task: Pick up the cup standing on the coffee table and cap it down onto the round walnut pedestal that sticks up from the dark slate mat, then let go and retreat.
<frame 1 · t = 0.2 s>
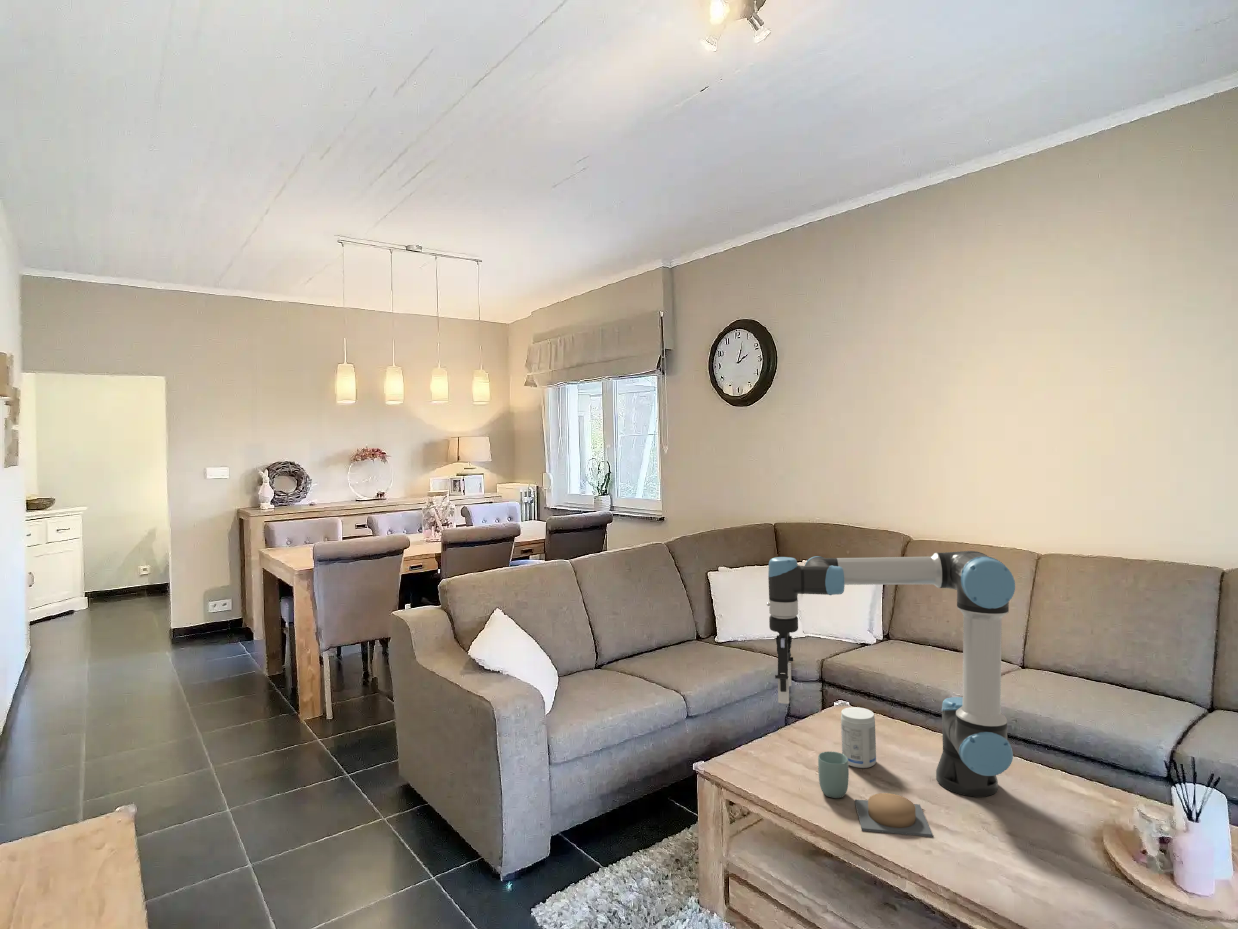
hand: (785, 694, 186), 27 cm above the table, fingers open, 13 cm apart
stand: (891, 818, 173), on the table
cup: (833, 795, 185), on the table
supplement tub: (858, 762, 204), on the table
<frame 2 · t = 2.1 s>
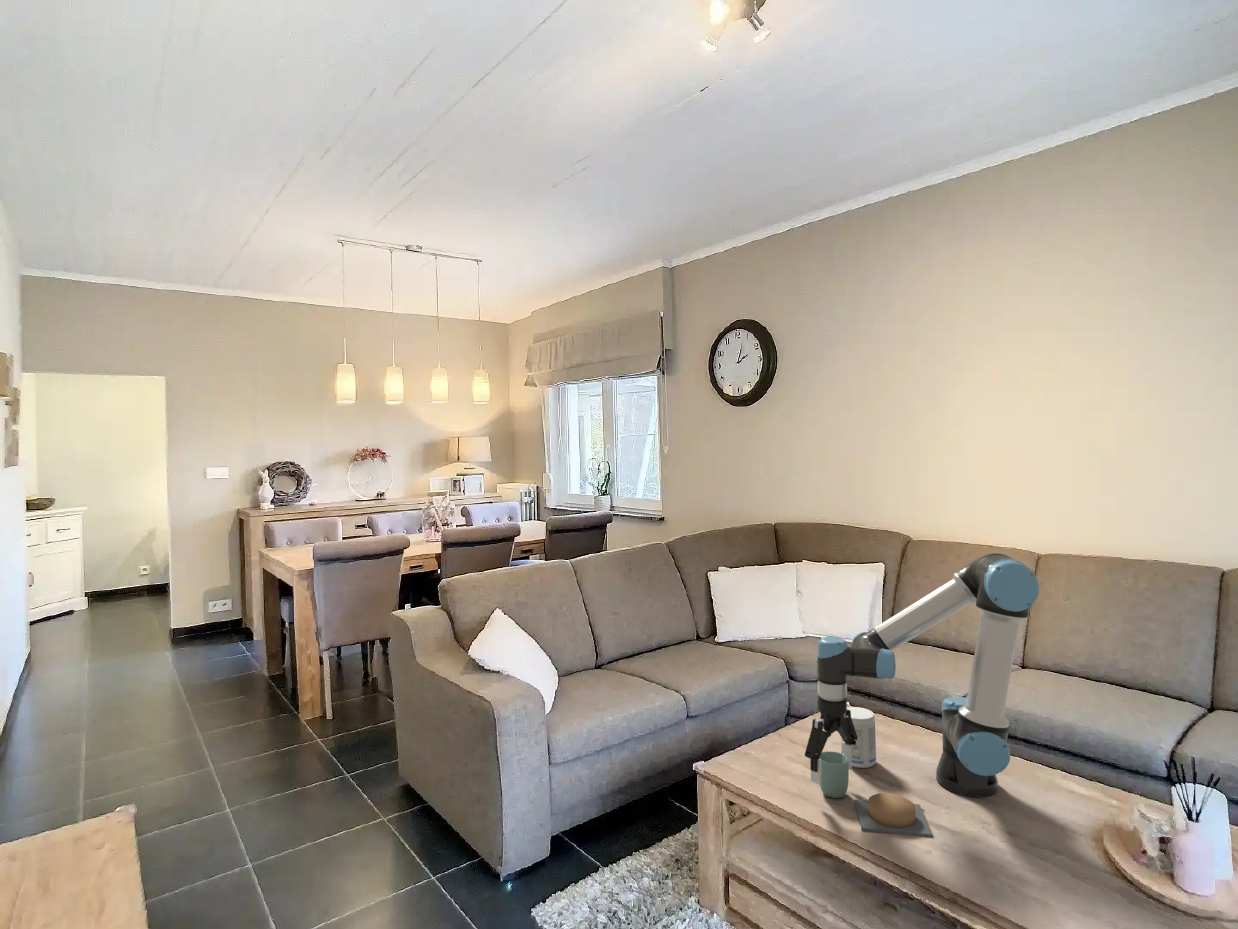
hand: (831, 775, 185), 5 cm above the table, fingers open, 13 cm apart
nothing on the table moved.
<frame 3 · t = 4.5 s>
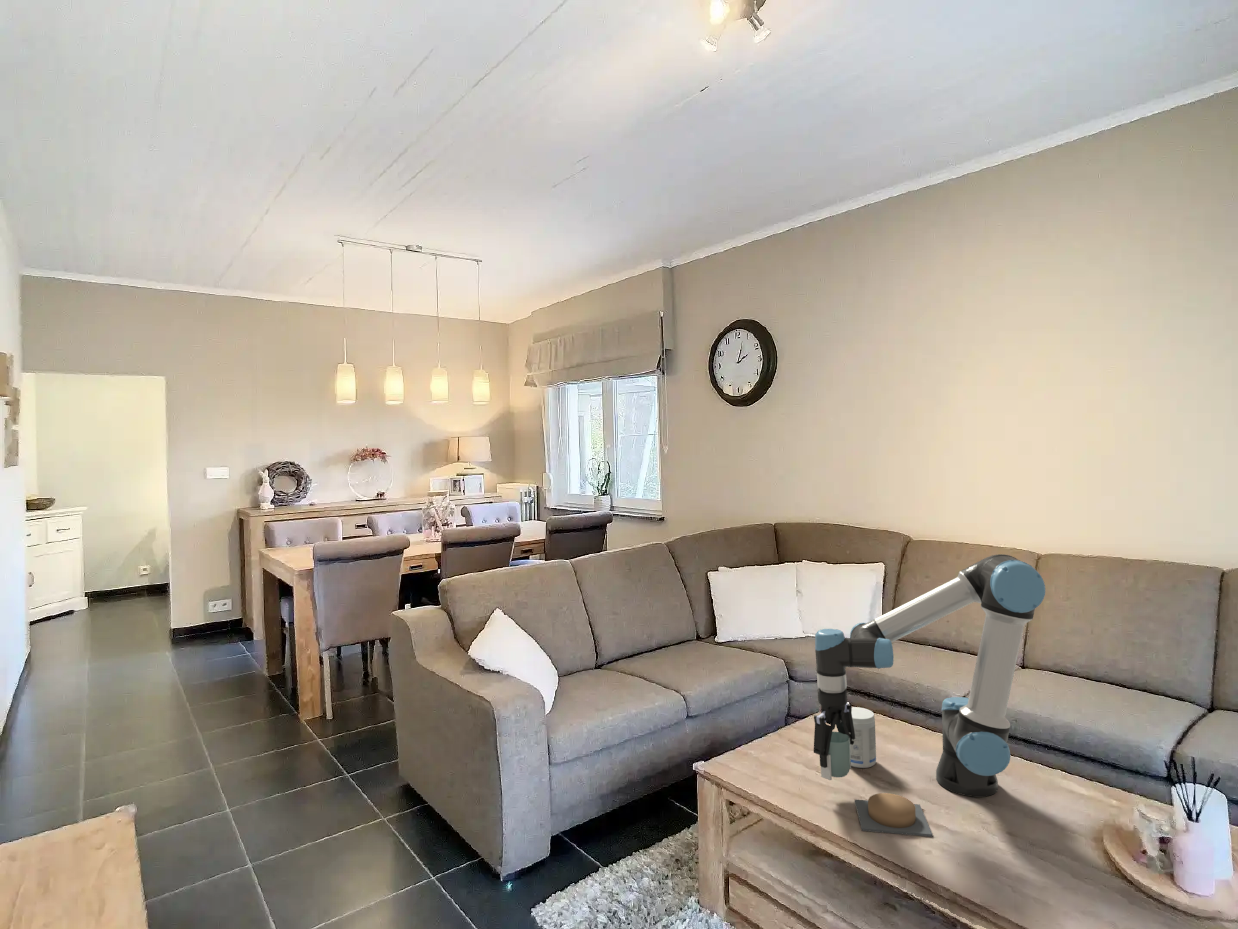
hand: (836, 772, 185), 6 cm above the table, fingers closed on cup, 8 cm apart
cup: (836, 775, 185), point 5 cm above the table, touching gripper
everything else where it was.
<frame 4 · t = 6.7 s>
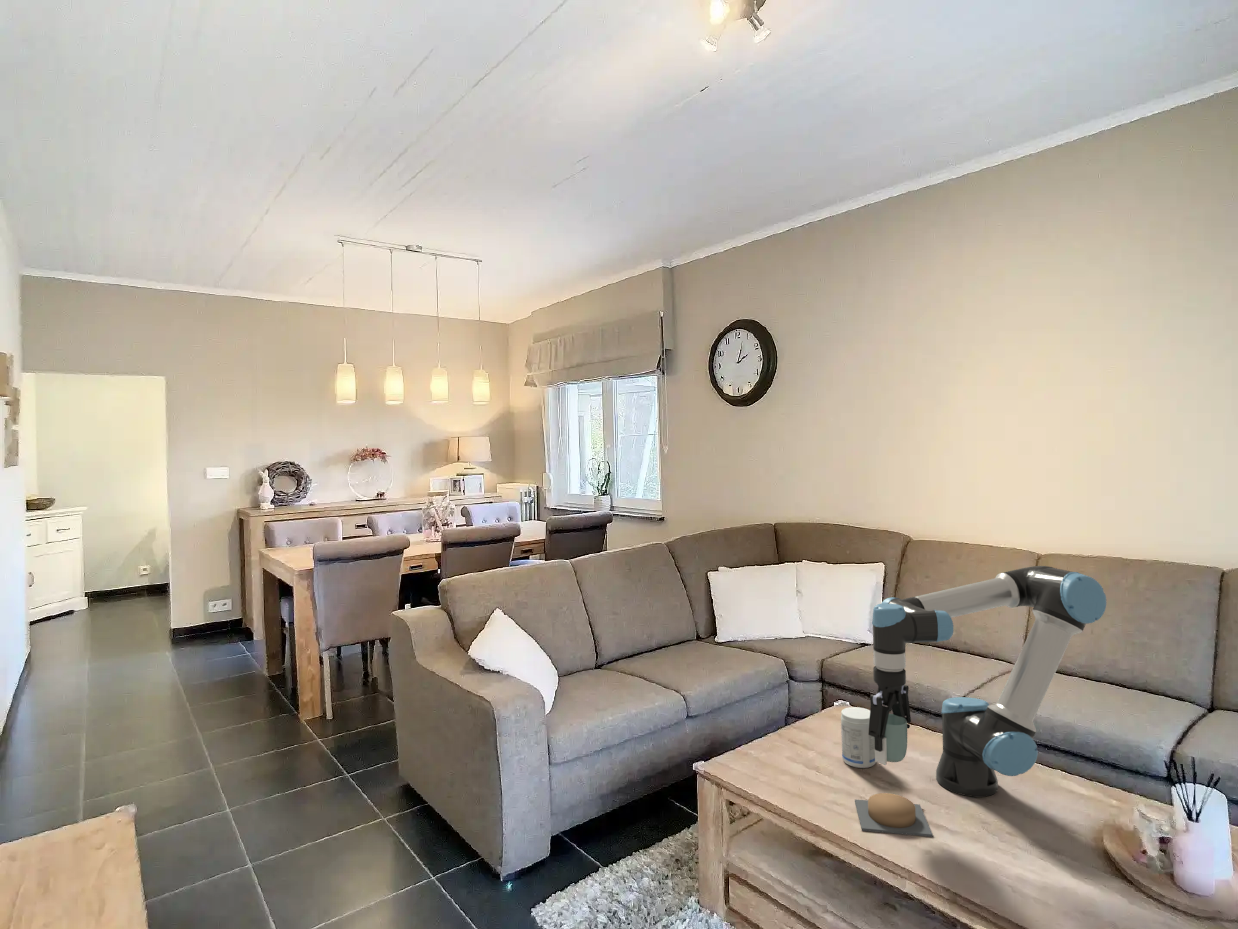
hand: (890, 757, 172), 15 cm above the table, fingers closed on cup, 8 cm apart
cup: (890, 759, 172), point 15 cm above the table, touching gripper
everything else where it was.
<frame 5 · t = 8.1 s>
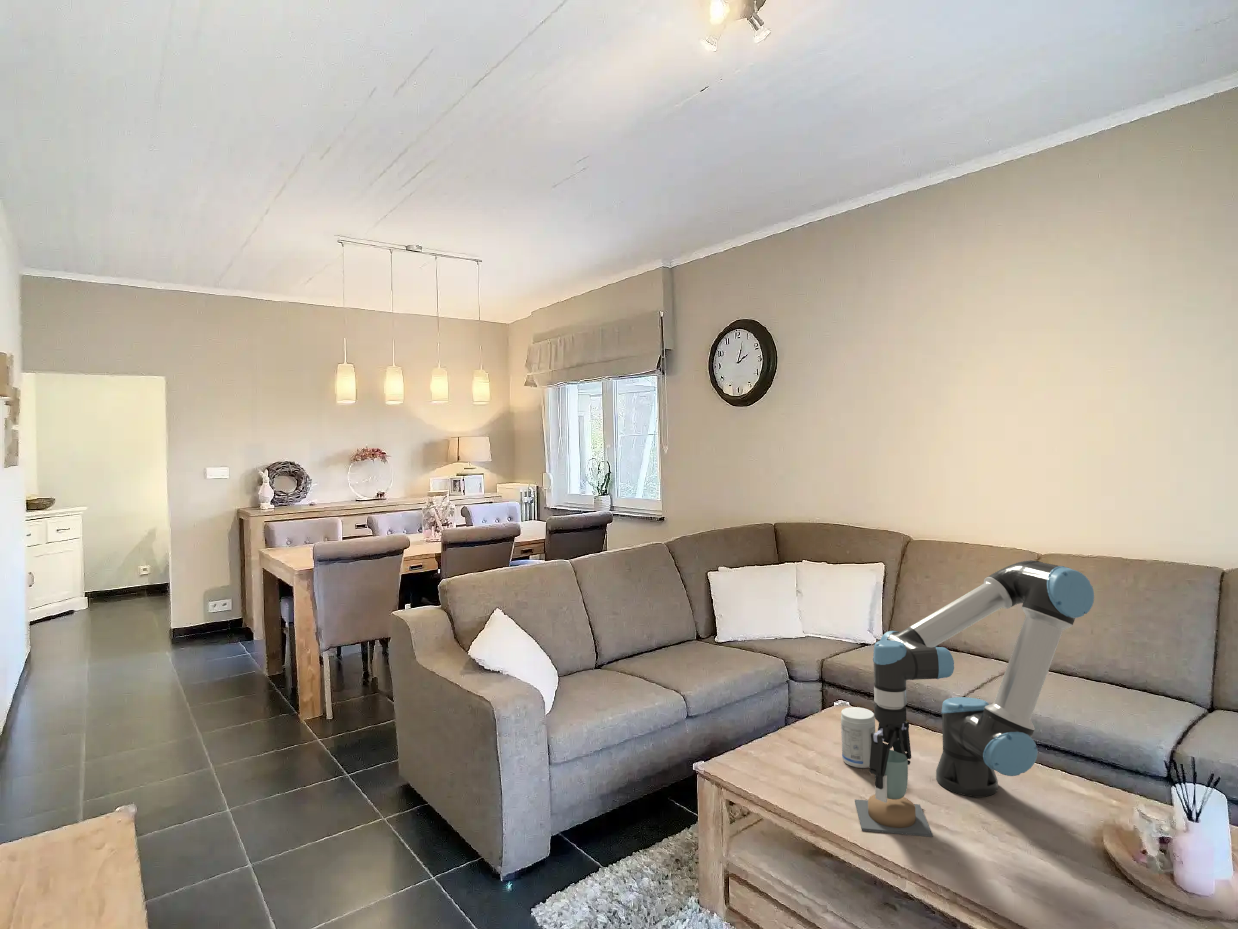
hand: (890, 794, 172), 6 cm above the table, fingers closed on cup, 8 cm apart
cup: (891, 796, 172), point 6 cm above the table, touching gripper
everything else where it was.
when the fingers open (5 cm above the table, at t = 9.3 s): cup stays where it is, resting on stand.
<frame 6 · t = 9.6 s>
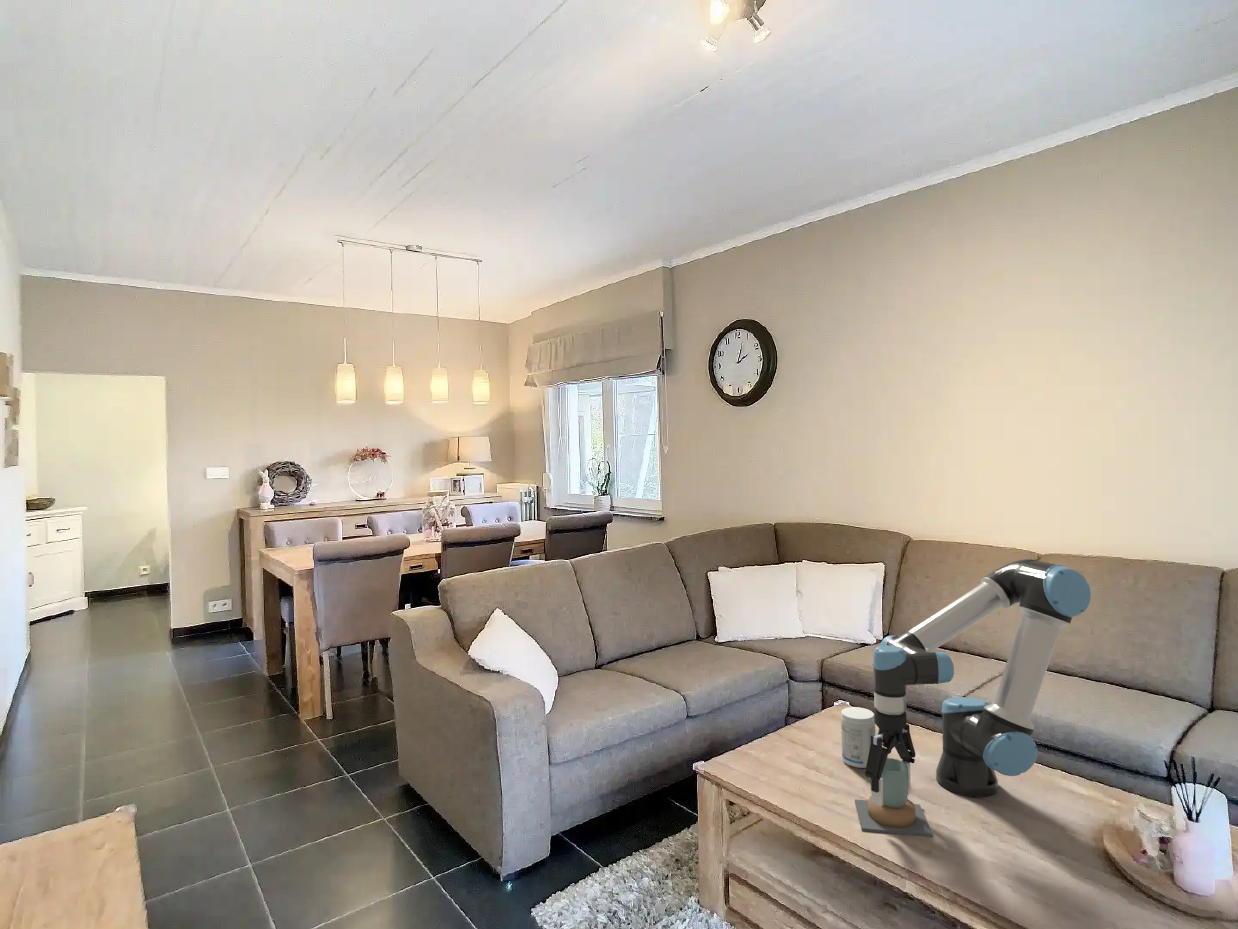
hand: (891, 795, 172), 6 cm above the table, fingers open, 12 cm apart
cup: (892, 805, 173), point 3 cm above the table, touching stand
everything else where it was.
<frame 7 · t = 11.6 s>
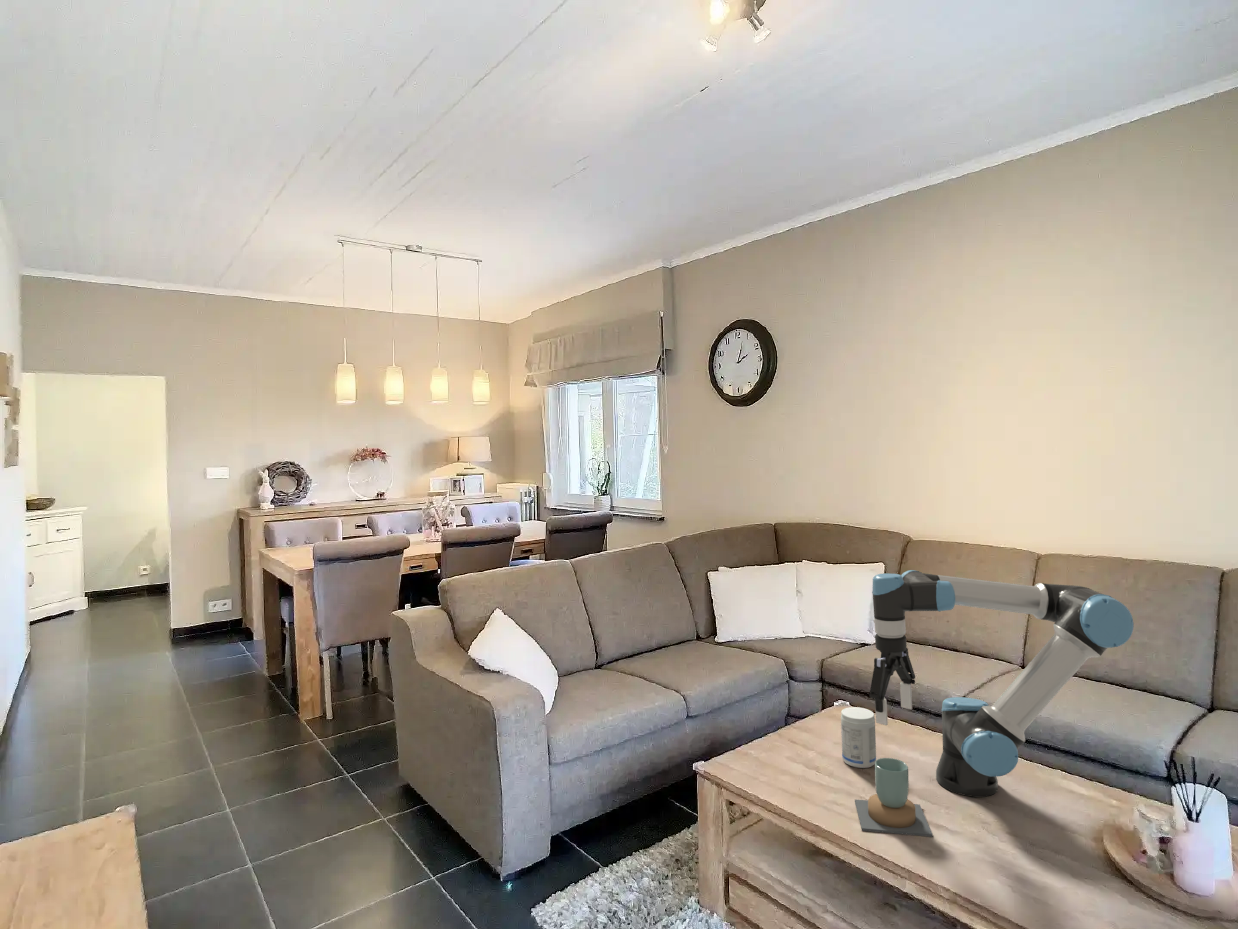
hand: (894, 715, 179), 23 cm above the table, fingers open, 13 cm apart
nothing on the table moved.
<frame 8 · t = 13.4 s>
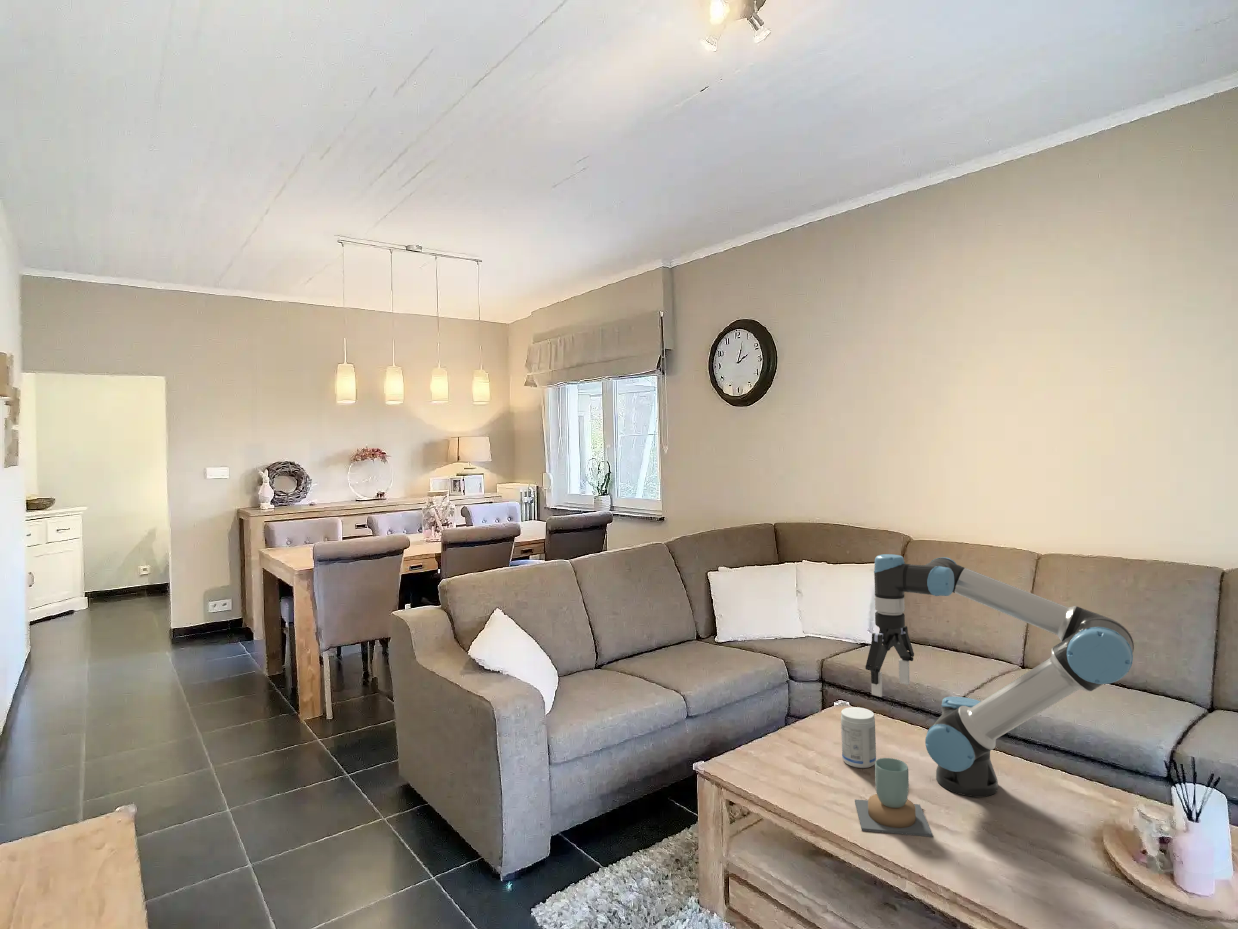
hand: (890, 689, 188), 27 cm above the table, fingers open, 13 cm apart
nothing on the table moved.
at the end: cup 0.1 cm off-centre on the stand, point 3.4 cm above the stand's base; cup tilted 0°; the gripper is holding nothing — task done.
